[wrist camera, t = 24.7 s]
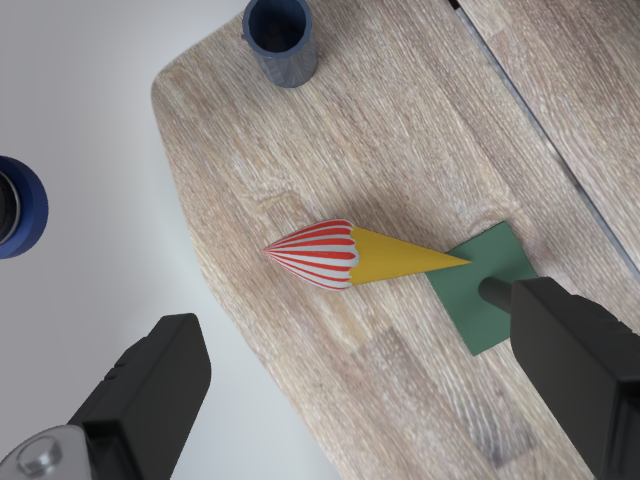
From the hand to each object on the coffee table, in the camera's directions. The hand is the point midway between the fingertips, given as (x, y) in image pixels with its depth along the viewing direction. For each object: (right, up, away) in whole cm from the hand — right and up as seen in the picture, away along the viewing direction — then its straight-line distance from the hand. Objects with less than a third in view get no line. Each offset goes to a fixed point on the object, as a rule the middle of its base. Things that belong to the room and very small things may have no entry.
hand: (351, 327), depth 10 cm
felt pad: (+16, -2, +28) cm, 32 cm away
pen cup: (-4, +20, +28) cm, 35 cm away
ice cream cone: (+4, 0, +29) cm, 29 cm away
